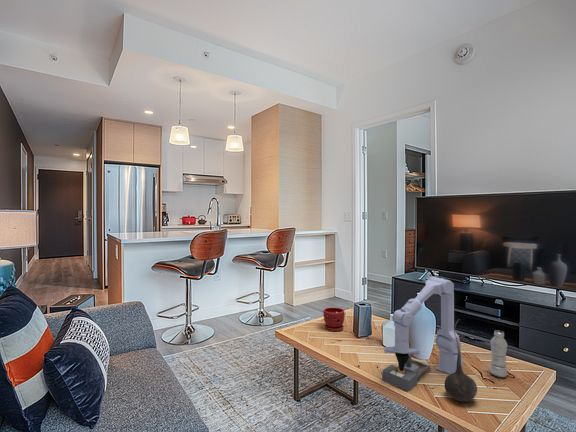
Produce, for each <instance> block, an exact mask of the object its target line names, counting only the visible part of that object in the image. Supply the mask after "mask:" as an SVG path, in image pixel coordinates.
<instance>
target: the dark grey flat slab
mask: <svg viewBox="0 0 576 432" xmlns="http://www.w3.org/2000/svg"><path fill="white" fill-rule="evenodd" d="M411 364H413V365H416V366H419V373H418V374H417V383H418V382H419V381H420V380H421V379H422V378H423V377H425V376H426V375H427V374H428V373H430V372H431V365H429V364H427V363H425V362H424V363H423V362H422V361H419V360H415V359H412V363H411Z"/></svg>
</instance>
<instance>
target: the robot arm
mask: <svg viewBox="0 0 576 432" xmlns="http://www.w3.org/2000/svg"><path fill="white" fill-rule="evenodd" d="M454 289H455V283H454V282H452V280H449V279H444V278H441V277H437V276H435V275H434V276H433V275H432V276H429V277H428V278H427V280H425V286H423V288H422V289H421V290H420V291H419V293H417V296H416V297H415V298H410V299H408V300H407V302H406V303H405V304H403V306H402V307H401V308H400V309H397V310H395V311H394V312H393V313H392V316H391V318H392V321H393V324H394V325H393V326H394V345H393V346H383V347H384V348H383V351H384V352H383V353H384V354H394V355H395V357H396V360H397V363H398V365H399V369H400V371H403V370H404V366H405V364H406V362H407V360H408V359H409V355H408V354H411V355H416V356H420V354H421V353H420V349H419V348H413V347H409V346H410V326H411V325H412V323H413V320H414V318H415V315H417V314H418V313H419V312H420V310H421V309H422V304H424V302H425V301H427V300H428V299H429V298H430V297H431V296H432V295H439V296H440V329H439V330H437V331H436V336H435V341H434V342H435V345H436V346H437V348H438V349H439V351H438V352H439V353H438V355H439V357H438V365H437V366H436V367H435V370H438V371H441V372H443V373H447V374H448V375H450V374H452V373H454V372H455V371H456V368H457V356H458V348H457V341H456V337H457V340H458V343H459V347H460V350H461V349H462V344H461V341H460V336H459V335H458V334H457V332H456V331H455V334H456V337H455V334H454V328H455V290H454ZM461 365H462V366H463V354H461Z"/></svg>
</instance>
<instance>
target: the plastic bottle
mask: <svg viewBox="0 0 576 432" xmlns="http://www.w3.org/2000/svg"><path fill="white" fill-rule="evenodd" d="M493 332H494V333H493V337H491V339H490V343H489V344H490V349H491V350H490V351H491V359H490V365H489V372H490V373H491V375H493V376H494V377H497V378H506V377H507V375H508V367H507V362H506V361H507V359H506V358H507V351H508V343H507V340H506V339H505V338H504V337H505V332H504V331H502V330H498V329H497V330H496V329H495V330H494V331H493Z"/></svg>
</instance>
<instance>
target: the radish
mask: <svg viewBox="0 0 576 432" xmlns="http://www.w3.org/2000/svg"><path fill="white" fill-rule="evenodd" d="M458 322H459V320H457V321H456V323H454V334H455V332H456V327H457V323H458ZM455 337H456V334H455ZM456 341H457V348H458V356H457V368H456V371H455V372H454V373H452V374H448V375H447V376H446V378H445V380H444V389H445V392H446V394H448V396H449V397H451V398H452V399H453V400H456V401H458V402H464V403H465V402H469V401H472V400H473V399H475V397H476V396H477V393H478V386H477V383H476V381H475V380H474V379H473V378H472V377H470V376H469V375H468V374H466V373H465V372H464V370H463V364H462V365H461V355H462V354H461V353H462V351H461V349H460V347H459V343H458V340H457V337H456Z"/></svg>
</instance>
